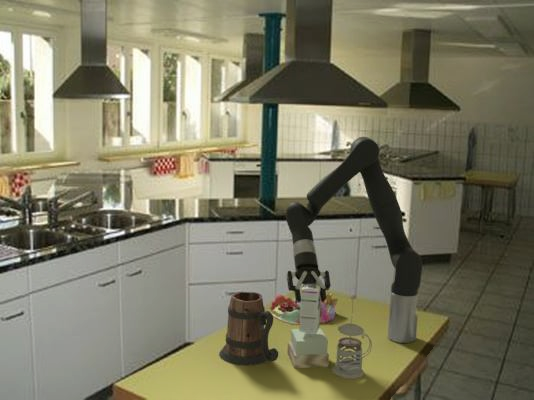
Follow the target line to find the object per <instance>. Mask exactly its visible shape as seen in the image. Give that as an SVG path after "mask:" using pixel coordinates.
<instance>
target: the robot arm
mask: <svg viewBox="0 0 534 400" xmlns="http://www.w3.org/2000/svg"><path fill="white" fill-rule="evenodd" d="M379 156H380V147H379V145H378V143H377V142H376V141H375V140H373V139H372V138H369V137H366V136H359V137H358V138H355V140H353V141H352V143H351V145H350V150H349V154H348V155H347V156H346V158H345V159H344V160H343V161H342V162H341V163H340V164H339V165H338V166H337V167H336V168H335V169H333V170H332V171H331V172H329V173H328V174H327V175H326V176H324V177H323V178H322V179H320V180H319V181H318V182H317V183H316V184H315V185H314V186H313V187H312V188H311V190H309V191H308V192H307V194H306V199H307V200H308V202H307V204H306V205H304V204H302V203H300V202H299V201H298V202H297V201H294V202H291V203H290V204H288V206H287V207H286V210H285V220H286V223H287V226H288V229H289V231H290V234H291V238H292V246H293V247H292V248H293V249H292V251H293V252H292V253H293V254H292V255H293V259H294V269H295V271H291V270H288V271H287V274H286V281H287V288H288V291H289V292H291V291H292V292H294V298H295V300H296V301H298V303H300V302H301V289H300V288H302V286H303V285H304V284H316V285H320V287H321V289H320V296H321V302H324V301H325V300H326V295H327V292H326V291H329V290H330V287H332V286H331V285H332V284H331V280H330V279H331V277H330V273H329V270H325V271H321V270H320V268H319V264H318V257H317V249H316V246H315V243H314V235H313V232H312V229H311V228H310V227H309V226H311V225H312V224H313V223H314V222H315V220H316V219H317V216H319V213H320V212H321V210H322V208H323V207H324V206H325V205H326V204H327V203H328V202H329V201H330V200H331V199H332V198H333V197H334V196H335V195H336V194H338V192H339V191H340V190H341V189H342V188H343V187H344V186H345V185H347V183H349V181H351V180H352V179H353V178H354V177H355V176H357V175H358V174H359V173H360V176H361V178H362V180H363V183H364V187H365V190H366V191H365V192H366V195H367V198H368V201H369V204H370V208H371V211H372V212H373V215H374V218H375V219H376V222H377V224H378V226H379V229H380V230H381V233H382V235H383V237H384V239H385V242H386V245H387V246H386V247H387V250H388V253H389V258H390V261H391V264H392V266H393V268H394V269H395V271H394V281H393V282H392V284H391V285H390V286H391V287H390V289H391V290H390V301H389V302H390V303H389V310H388V311H389V313H388V327H387V338H388V339H389V340H390V341H392V342H395V343H400V344H408V343H412V342H416V340H417V330H418V318H419V316H418V314H417V303H418V294H419V293H418V292H419V288H420V287H421V280H422V274H423V273H422V272H423V260H422V257H421V256H420V254H419V253H417V251H415V250H414V249H413V247H412V246H411V244H410V241H409V240H408V237H407V235H406V234H407V233H405V228H404V220H403V214H402V209H401V207H400V204H399V201H398V199H397V196H396V193H395V192H394V190H393V187H392V186H391V184H390V182H389V180H388V179H387V177H386V175H385V173H384V171H383V169H382V165H381V162H380V159H379ZM320 276H321V278H322V279H323V280H324V282H322V280H321V279H320ZM294 277H295V279H297V280H298V282H297V283H296V285H294V281H293V279H294Z"/></svg>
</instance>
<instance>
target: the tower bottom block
mask: <svg viewBox="0 0 534 400" xmlns="http://www.w3.org/2000/svg"><path fill="white" fill-rule="evenodd" d="M286 351H287V352H286V353H287V356H288V358H289V360H290V363H291V365H292V367H293V368H294V369H305V368H307V369H308V368H309V369H310V368H329V359H330V358H329V357H330V355H329V354H330V353H328V352H327V354H322V355H296V354H295V351H294V349H293V346H292V344H291V341H287V350H286Z"/></svg>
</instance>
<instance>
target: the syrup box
mask: <svg viewBox="0 0 534 400" xmlns="http://www.w3.org/2000/svg"><path fill="white" fill-rule="evenodd" d="M300 288H301V289H300V295H301V302H300V325H299V328H298V329H299V331H300V332H305V333H315V334H317V331H318V329H320V323H319V315H320V289H321V287H320V285H316V284H302V285H301V287H300Z"/></svg>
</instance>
